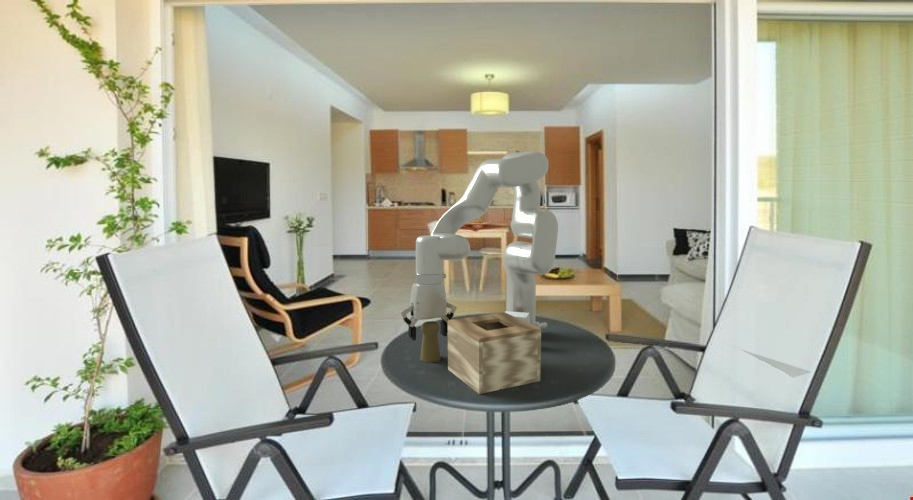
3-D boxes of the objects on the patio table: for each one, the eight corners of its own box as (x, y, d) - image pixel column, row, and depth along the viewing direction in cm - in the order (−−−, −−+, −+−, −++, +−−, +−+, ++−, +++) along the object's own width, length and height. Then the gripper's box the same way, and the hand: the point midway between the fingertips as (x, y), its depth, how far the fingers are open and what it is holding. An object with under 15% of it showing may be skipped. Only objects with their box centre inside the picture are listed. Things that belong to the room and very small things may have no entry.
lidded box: (504, 359, 147) (504, 312, 145) (540, 380, 131) (541, 328, 129) (448, 369, 139) (447, 320, 137) (479, 394, 123) (479, 338, 121)
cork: (438, 363, 144) (437, 325, 143) (417, 361, 145) (416, 324, 144) (442, 355, 150) (442, 319, 149) (423, 354, 151) (422, 318, 150)
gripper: (450, 274, 151) (449, 330, 154) (395, 278, 144) (395, 337, 146) (461, 279, 145) (460, 337, 147) (404, 283, 137) (404, 344, 139)
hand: (428, 337), depth 147 cm, fingers open, 9 cm apart
